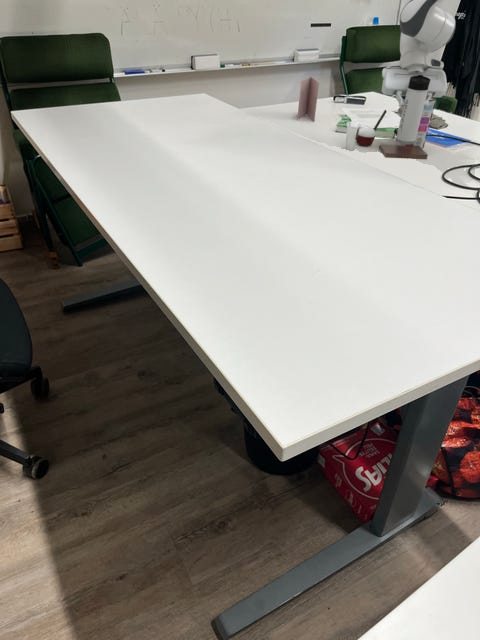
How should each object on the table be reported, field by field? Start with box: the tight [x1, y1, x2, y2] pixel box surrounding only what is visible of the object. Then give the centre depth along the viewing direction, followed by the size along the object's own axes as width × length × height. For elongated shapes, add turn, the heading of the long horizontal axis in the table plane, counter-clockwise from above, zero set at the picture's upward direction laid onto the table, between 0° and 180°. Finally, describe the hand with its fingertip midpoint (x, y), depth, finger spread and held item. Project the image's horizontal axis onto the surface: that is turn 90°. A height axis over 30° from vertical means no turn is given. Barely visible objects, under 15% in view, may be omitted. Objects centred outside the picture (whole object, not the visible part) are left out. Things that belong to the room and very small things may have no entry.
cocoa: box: [356, 109, 388, 147], centre depth 167 cm, size 10×6×12 cm, turn 68°
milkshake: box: [344, 120, 362, 152], centre depth 162 cm, size 5×5×10 cm
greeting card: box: [296, 76, 320, 122], centre depth 191 cm, size 11×7×15 cm, turn 154°
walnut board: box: [378, 143, 429, 160], centre depth 164 cm, size 14×10×2 cm
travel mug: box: [395, 75, 430, 145], centre depth 156 cm, size 6×7×20 cm
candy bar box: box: [409, 97, 437, 150], centre depth 168 cm, size 11×5×16 cm, turn 10°
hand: (413, 106), depth 155 cm, fingers closed on travel mug, 6 cm apart
